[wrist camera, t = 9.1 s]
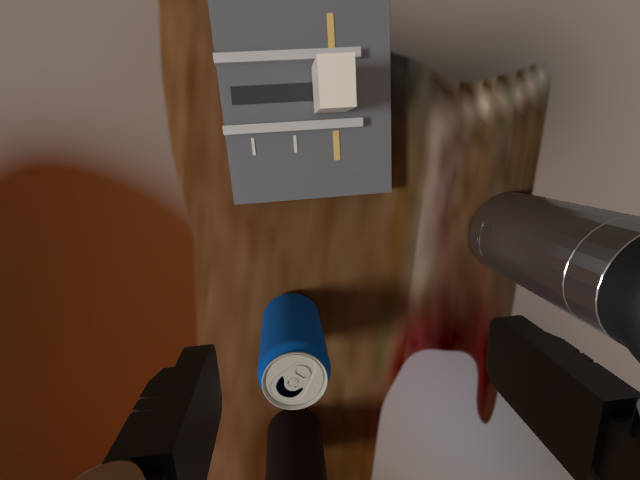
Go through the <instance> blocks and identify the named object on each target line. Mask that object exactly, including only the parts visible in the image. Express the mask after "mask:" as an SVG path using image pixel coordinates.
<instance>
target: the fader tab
mask: <svg viewBox="0 0 640 480" xmlns="http://www.w3.org/2000/svg"><path fill="white" fill-rule="evenodd" d="M311 68H312V84H313V100H314V114H322V113H339V112H347V111H349V110H351V109H353V108H355V107H357V96H356V66H355V52H345V53H322V54H317V55H316V57H315V60H314V62H313V65H312V67H311Z"/></svg>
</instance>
